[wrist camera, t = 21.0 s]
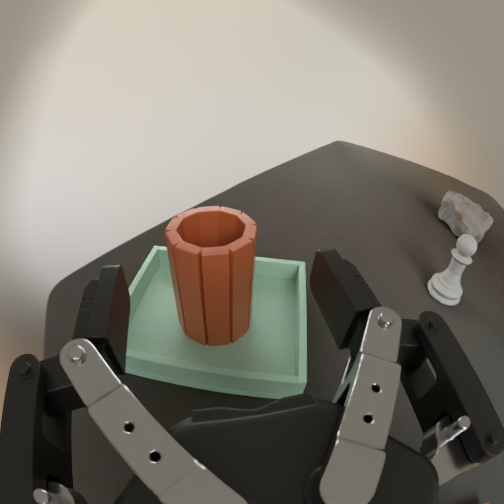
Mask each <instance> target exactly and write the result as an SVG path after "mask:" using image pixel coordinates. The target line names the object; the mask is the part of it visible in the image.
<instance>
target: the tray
mask: <svg viewBox="0 0 504 504" xmlns="http://www.w3.org/2000/svg"><path fill="white" fill-rule="evenodd" d="M128 290H129V294H130V316H129V327H128V338H127V351H126V367H125V372H126V373H130V374H134V375H138V376H142V377H146V378H150V379H154V380H158V381H163V382H168V383H172V384H177V385H182V386H187V387H193V388H198V389H204V390H210V391H216V392H222V393H229V394H236V395H244V396H252V397H261V398H271V399H281V398H283V397H287V396H292V395H297V394H302V393H303V391H304V389H305V386H306V384H307V310H306V274H305V262H300V261H291V260H282V259H272V258H263V257H255V269H254V284H253V298H252V312H251V320H250V326H249V330H247V333H245V334H244V335H243V336H242V337H240V338H239V339H238V340H236V341H235V342H234V343H232V342H231V341H230V344H228V345H218V346H209V345H208V343H207V345H206V346H205V345H203V344H200V343H198V342H196V341H194V340H192V339H190V338H188V335H187V336H186V335H185V333H184V331H183V329H182V327H181V325H180V323H179V318H178V313H177V307H176V302H175V296H174V290H173V284H172V278H171V271H170V265H169V258H168V251H167V247H162V246H160V247H159V246H154V247H153V249H152V250H151V252H150V254H149V255H148V257H147V259H146V260H145V262H144V264H143V265H142V267H141V269H140V270H139V272H138V274H137V275H136V277H135V279H134V280H133V282H132V284H131V286H130V287H129V289H128Z"/></svg>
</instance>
